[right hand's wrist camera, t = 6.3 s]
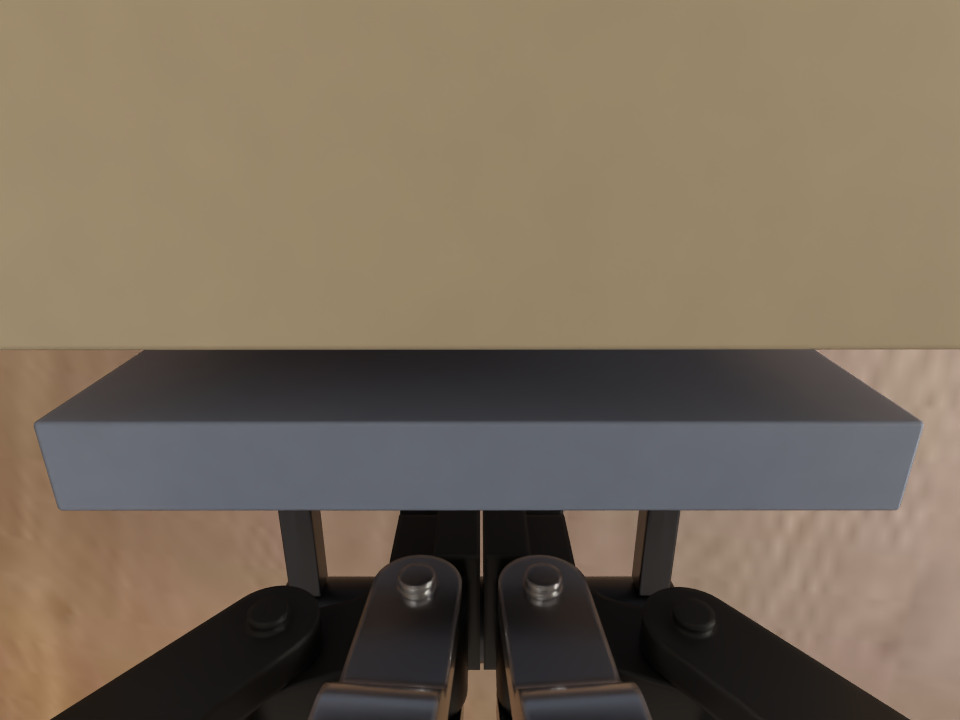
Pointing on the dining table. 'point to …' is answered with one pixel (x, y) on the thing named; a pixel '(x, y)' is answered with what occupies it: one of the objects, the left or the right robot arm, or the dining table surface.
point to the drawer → (479, 440)
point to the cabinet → (479, 174)
